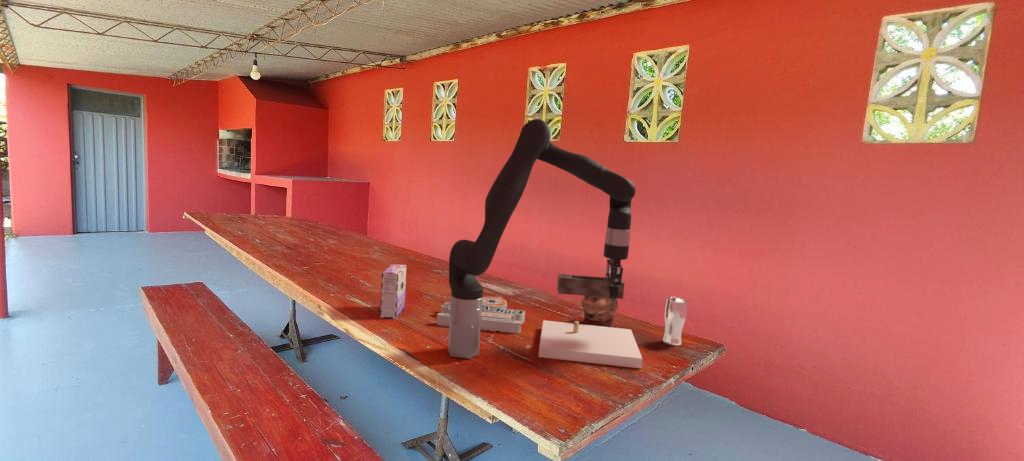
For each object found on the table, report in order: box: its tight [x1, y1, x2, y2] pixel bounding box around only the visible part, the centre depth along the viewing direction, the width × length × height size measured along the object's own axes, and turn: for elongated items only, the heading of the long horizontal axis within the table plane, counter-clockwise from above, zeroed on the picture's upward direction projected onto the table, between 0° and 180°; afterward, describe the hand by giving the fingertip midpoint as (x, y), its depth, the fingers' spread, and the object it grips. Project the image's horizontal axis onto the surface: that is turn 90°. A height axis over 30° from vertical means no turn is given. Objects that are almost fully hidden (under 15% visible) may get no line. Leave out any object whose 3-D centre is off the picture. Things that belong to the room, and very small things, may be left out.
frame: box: [556, 273, 626, 300], centre depth 155 cm, size 20×6×5 cm, turn 89°
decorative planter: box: [580, 296, 619, 327], centre depth 180 cm, size 20×12×14 cm, turn 148°
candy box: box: [379, 263, 407, 320], centre depth 176 cm, size 14×6×16 cm, turn 0°
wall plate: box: [538, 320, 643, 369], centre depth 157 cm, size 26×30×6 cm
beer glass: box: [662, 296, 688, 347], centre depth 166 cm, size 7×7×15 cm
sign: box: [436, 296, 526, 335], centre depth 181 cm, size 30×4×30 cm
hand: (611, 295), depth 156 cm, fingers closed on frame, 6 cm apart
